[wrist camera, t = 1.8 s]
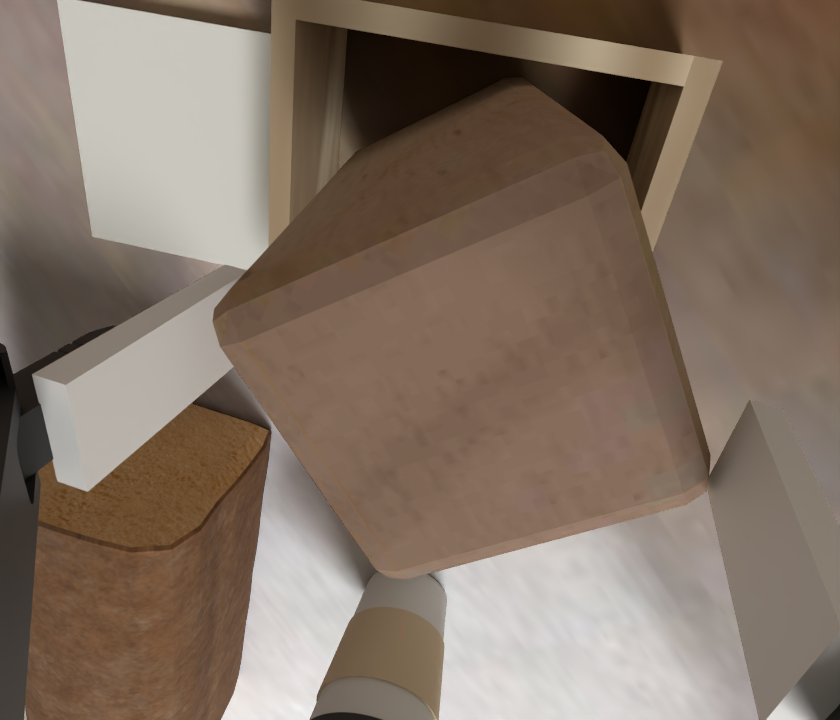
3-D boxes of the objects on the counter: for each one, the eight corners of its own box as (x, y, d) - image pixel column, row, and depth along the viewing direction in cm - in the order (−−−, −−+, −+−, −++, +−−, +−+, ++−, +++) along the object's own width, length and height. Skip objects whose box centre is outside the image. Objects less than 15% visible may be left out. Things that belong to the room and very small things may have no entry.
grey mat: (98, 234, 37) (92, 236, 36) (64, -3, 30) (56, -4, 30) (291, 275, 36) (287, 278, 35) (299, 38, 29) (294, 38, 29)
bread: (118, 634, 60) (8, 787, 48) (102, 365, 43) (-76, 496, 30) (244, 677, 59) (166, 843, 47) (281, 422, 42) (173, 579, 30)
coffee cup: (333, 575, 49) (256, 768, 36) (418, 542, 45) (367, 744, 32) (396, 641, 51) (346, 842, 38) (481, 615, 48) (457, 828, 35)
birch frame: (312, 309, 37) (267, 361, 31) (330, -3, 28) (271, -15, 22) (578, 367, 35) (585, 434, 29) (682, 56, 27) (722, 60, 21)
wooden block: (342, 156, 30) (178, 321, 13) (523, 66, 28) (625, 121, 10) (422, 315, 34) (380, 601, 17) (586, 250, 32) (733, 510, 14)
